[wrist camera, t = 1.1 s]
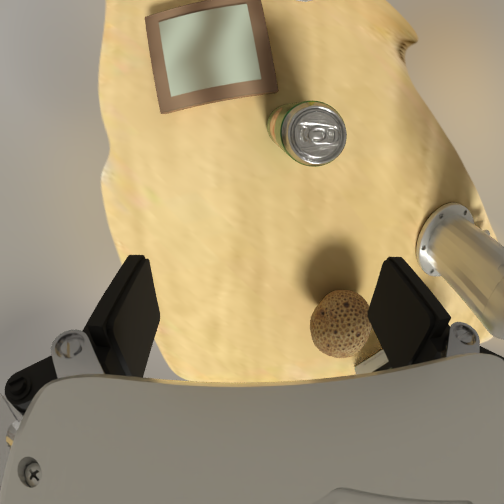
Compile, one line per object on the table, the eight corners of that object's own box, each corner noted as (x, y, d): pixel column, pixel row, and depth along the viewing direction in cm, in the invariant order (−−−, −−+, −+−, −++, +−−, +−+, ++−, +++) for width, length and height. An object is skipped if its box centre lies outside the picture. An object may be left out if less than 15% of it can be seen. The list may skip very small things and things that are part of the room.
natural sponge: (299, 282, 38) (314, 333, 29) (358, 267, 37) (387, 313, 29) (306, 327, 42) (319, 376, 34) (359, 313, 42) (380, 359, 33)
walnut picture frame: (257, 1, 20) (259, -9, 18) (275, 93, 26) (278, 90, 23) (151, 23, 21) (143, 16, 18) (167, 113, 27) (159, 113, 24)
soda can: (264, 105, 27) (279, 101, 16) (309, 103, 27) (350, 101, 16) (268, 149, 29) (285, 171, 19) (312, 146, 29) (352, 168, 19)
